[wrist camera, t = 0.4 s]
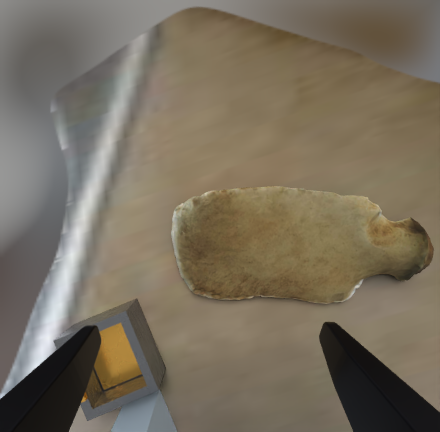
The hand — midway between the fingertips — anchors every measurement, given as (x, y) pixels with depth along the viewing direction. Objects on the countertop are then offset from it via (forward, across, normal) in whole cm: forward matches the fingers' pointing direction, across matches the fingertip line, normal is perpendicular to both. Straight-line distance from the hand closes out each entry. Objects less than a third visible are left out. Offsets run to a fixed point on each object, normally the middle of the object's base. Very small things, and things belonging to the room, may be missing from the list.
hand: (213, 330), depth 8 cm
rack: (+9, +9, +14) cm, 19 cm away
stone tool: (+13, -9, +4) cm, 16 cm away
